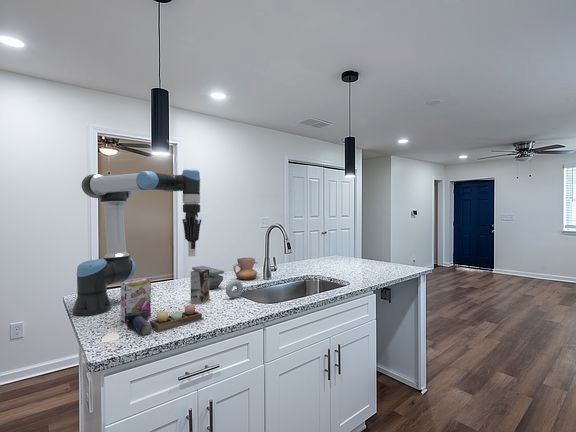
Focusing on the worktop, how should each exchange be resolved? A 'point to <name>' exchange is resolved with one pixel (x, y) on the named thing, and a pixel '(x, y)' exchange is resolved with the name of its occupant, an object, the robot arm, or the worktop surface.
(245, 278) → the ceramic jug
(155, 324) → the wooden tray
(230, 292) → the donut
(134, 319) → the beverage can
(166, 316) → the button ochre
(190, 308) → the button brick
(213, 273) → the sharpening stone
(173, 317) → the button sage
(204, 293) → the coffee box
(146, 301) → the candy bar box
